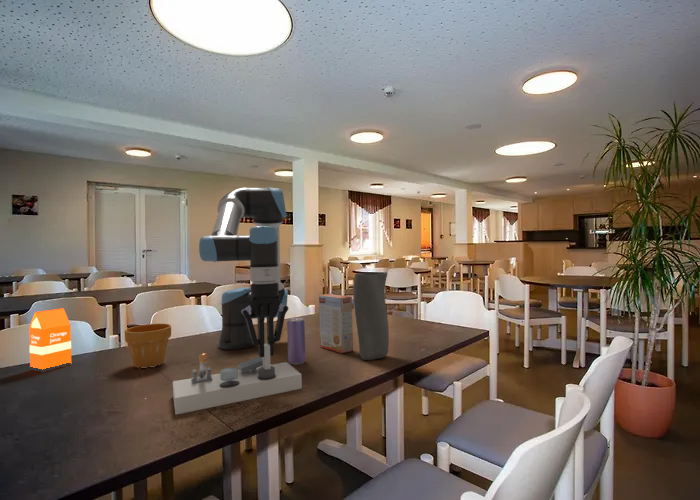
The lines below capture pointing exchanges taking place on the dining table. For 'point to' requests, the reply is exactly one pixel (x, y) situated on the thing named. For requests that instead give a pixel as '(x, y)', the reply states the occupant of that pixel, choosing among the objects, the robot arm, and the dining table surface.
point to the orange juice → (50, 339)
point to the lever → (203, 364)
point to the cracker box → (336, 322)
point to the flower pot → (148, 343)
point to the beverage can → (296, 341)
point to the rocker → (250, 364)
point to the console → (232, 388)
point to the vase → (371, 314)
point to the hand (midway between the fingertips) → (266, 367)
